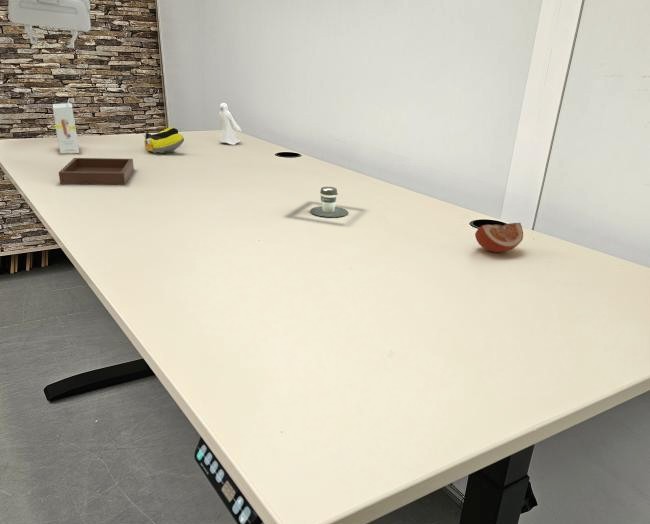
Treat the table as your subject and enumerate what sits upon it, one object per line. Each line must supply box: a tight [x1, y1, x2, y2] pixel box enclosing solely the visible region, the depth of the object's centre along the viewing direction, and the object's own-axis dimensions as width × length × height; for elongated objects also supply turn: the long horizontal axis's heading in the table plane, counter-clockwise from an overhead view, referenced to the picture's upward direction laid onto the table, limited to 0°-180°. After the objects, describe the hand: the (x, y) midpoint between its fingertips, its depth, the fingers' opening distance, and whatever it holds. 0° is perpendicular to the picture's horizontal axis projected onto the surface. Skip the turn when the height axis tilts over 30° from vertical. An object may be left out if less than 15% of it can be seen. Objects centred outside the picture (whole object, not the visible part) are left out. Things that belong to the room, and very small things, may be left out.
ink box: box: [52, 102, 80, 155], centre depth 159 cm, size 9×5×12 cm, turn 24°
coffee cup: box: [309, 186, 349, 218], centre depth 118 cm, size 12×12×5 cm
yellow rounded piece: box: [142, 126, 185, 154], centre depth 167 cm, size 15×6×10 cm
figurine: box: [218, 102, 243, 146], centre depth 181 cm, size 8×8×12 cm
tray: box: [58, 157, 135, 186], centre depth 136 cm, size 14×16×3 cm
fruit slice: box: [474, 222, 524, 253], centre depth 102 cm, size 8×7×5 cm
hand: (52, 46), depth 163 cm, fingers open, 8 cm apart
